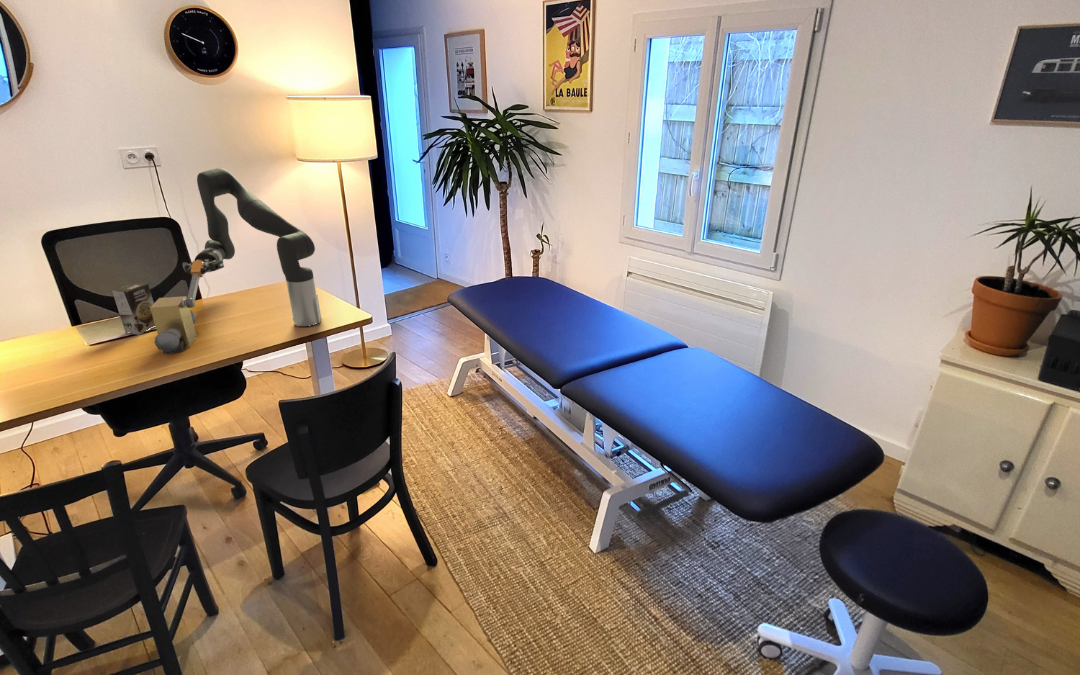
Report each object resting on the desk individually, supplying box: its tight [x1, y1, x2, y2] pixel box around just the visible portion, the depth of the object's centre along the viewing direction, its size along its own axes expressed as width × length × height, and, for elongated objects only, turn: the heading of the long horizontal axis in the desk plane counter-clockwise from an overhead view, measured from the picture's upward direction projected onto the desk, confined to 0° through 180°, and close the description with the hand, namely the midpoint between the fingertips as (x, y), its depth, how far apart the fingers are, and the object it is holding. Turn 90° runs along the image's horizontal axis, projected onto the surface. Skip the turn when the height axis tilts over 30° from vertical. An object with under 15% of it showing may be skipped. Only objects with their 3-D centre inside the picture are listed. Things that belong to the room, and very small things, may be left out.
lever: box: [186, 260, 204, 309], centre depth 190 cm, size 3×3×22 cm
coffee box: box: [111, 282, 155, 336], centre depth 195 cm, size 9×6×16 cm
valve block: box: [150, 295, 198, 355], centre depth 185 cm, size 9×21×16 cm, turn 16°
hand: (196, 271), depth 193 cm, fingers closed on lever, 3 cm apart
